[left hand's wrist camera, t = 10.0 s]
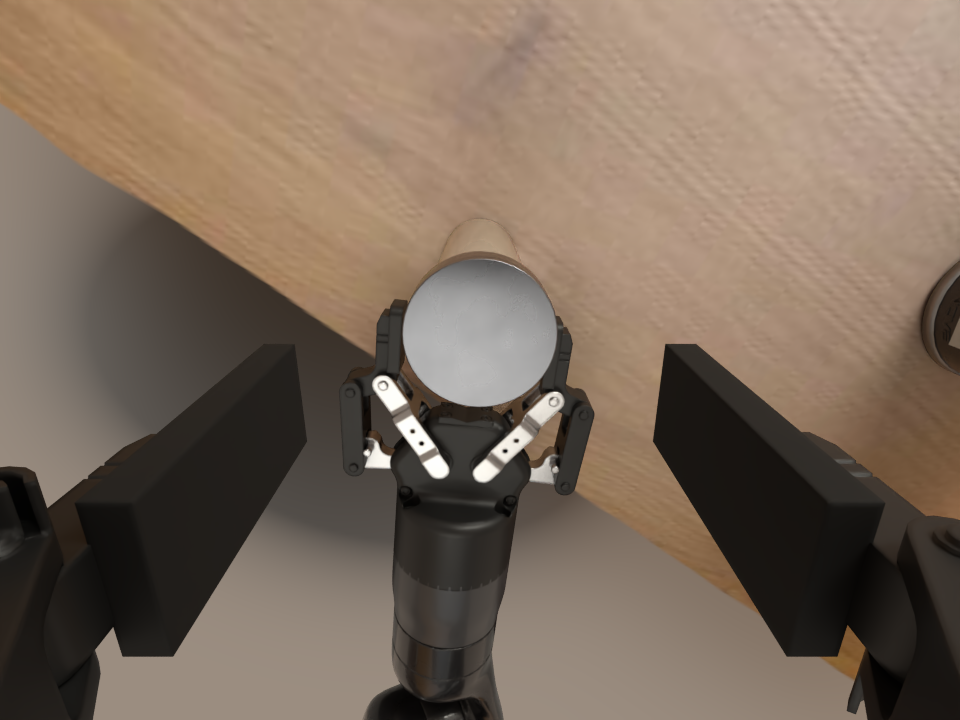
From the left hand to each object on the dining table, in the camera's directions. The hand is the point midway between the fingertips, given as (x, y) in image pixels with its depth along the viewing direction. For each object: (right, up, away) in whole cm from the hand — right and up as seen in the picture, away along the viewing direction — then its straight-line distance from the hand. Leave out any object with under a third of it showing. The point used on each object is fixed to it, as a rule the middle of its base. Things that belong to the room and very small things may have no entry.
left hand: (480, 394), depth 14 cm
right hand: (0, +4, +15) cm, 16 cm away
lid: (0, +2, +5) cm, 5 cm away
